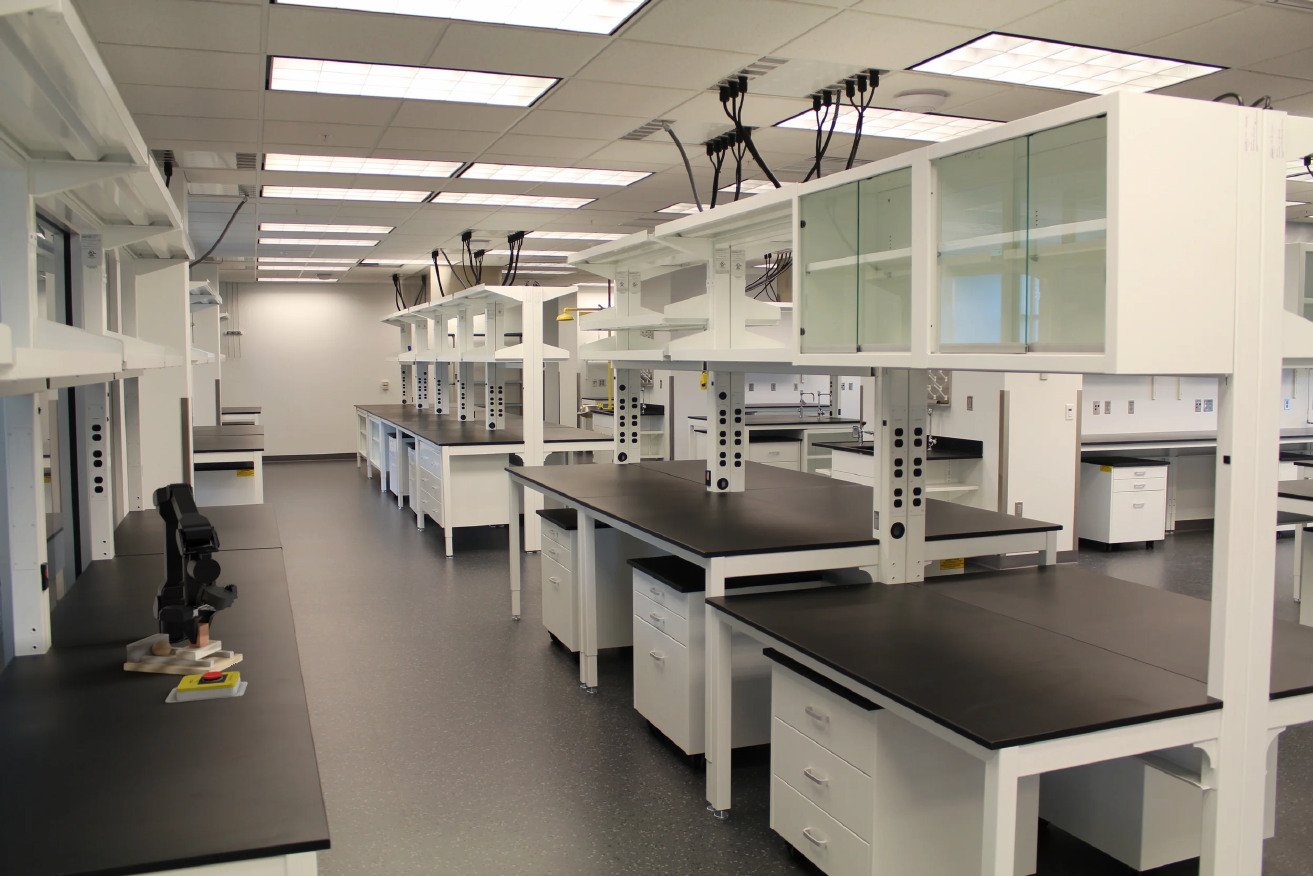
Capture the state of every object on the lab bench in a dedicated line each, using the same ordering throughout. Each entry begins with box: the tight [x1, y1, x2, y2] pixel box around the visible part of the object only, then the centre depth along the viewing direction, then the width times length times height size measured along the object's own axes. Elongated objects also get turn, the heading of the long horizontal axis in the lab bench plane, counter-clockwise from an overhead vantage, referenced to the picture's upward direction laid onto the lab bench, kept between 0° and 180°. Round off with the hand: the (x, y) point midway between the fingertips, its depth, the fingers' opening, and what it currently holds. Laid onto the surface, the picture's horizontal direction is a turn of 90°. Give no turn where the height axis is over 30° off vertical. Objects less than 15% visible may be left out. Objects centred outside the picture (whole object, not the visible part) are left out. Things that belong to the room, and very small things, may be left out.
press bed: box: [123, 632, 244, 676], centre depth 213 cm, size 22×12×6 cm, turn 79°
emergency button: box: [164, 670, 249, 704], centre depth 196 cm, size 9×4×15 cm
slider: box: [176, 623, 222, 661], centre depth 212 cm, size 5×9×7 cm, turn 169°
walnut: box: [152, 640, 172, 657], centre depth 214 cm, size 4×4×4 cm
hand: (198, 641), depth 212 cm, fingers closed on slider, 3 cm apart
